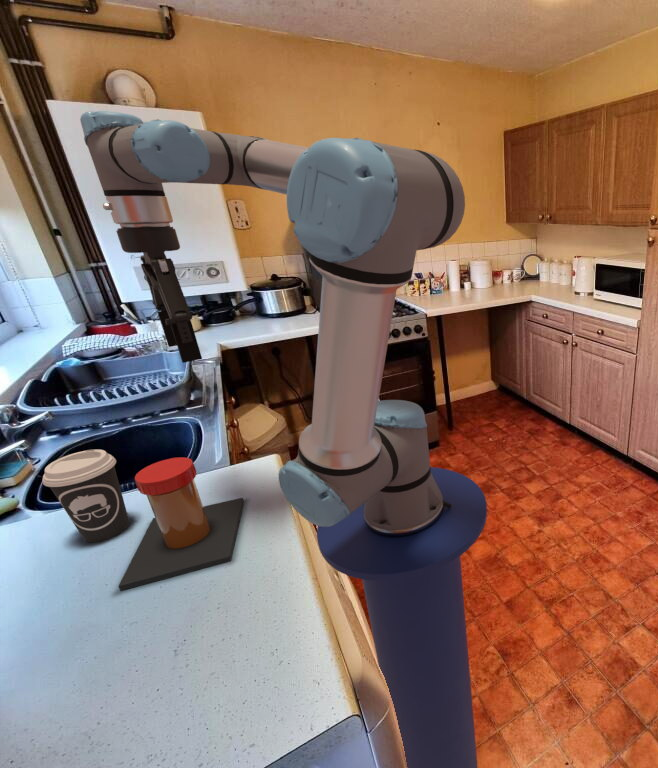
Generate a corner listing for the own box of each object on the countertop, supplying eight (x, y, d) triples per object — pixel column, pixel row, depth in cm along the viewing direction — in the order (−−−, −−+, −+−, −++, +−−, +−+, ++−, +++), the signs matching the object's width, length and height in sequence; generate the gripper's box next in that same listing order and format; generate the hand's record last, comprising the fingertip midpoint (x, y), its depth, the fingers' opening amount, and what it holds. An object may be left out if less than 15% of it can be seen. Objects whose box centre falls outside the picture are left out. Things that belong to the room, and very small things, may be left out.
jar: (213, 519, 82) (193, 459, 77) (206, 541, 76) (184, 479, 72) (171, 529, 80) (148, 468, 75) (161, 553, 74) (135, 489, 69)
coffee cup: (152, 516, 85) (126, 449, 80) (102, 551, 76) (68, 478, 71) (112, 511, 87) (83, 445, 81) (58, 545, 78) (21, 473, 72)
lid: (131, 500, 69) (126, 487, 68) (148, 474, 76) (143, 463, 75) (190, 488, 72) (186, 476, 71) (201, 464, 79) (197, 453, 78)
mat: (244, 501, 89) (242, 497, 88) (230, 560, 73) (229, 556, 73) (154, 522, 83) (152, 517, 83) (120, 591, 68) (118, 586, 68)
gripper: (108, 226, 76) (148, 343, 84) (122, 227, 59) (170, 373, 67) (161, 224, 81) (194, 335, 88) (188, 225, 64) (226, 362, 72)
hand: (184, 352), depth 78 cm, fingers open, 13 cm apart
